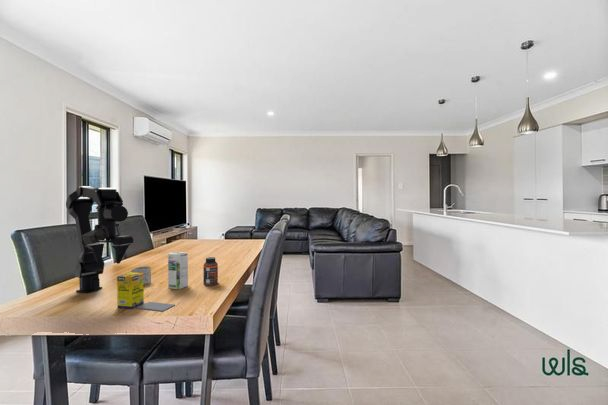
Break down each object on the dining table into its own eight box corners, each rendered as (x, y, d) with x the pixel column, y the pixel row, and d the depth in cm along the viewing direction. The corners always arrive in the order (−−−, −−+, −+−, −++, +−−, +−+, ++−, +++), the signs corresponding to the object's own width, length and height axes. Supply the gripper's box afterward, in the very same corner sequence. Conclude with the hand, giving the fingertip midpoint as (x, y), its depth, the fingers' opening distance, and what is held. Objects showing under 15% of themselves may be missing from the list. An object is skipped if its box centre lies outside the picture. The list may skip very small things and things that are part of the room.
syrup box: (167, 288, 131) (167, 253, 130) (178, 284, 136) (177, 250, 136) (178, 289, 128) (177, 254, 128) (188, 285, 134) (188, 251, 134)
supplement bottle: (210, 286, 133) (209, 259, 132) (200, 284, 136) (200, 258, 135) (220, 283, 138) (220, 257, 137) (211, 281, 141) (211, 256, 141)
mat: (136, 308, 108) (136, 307, 108) (149, 302, 113) (149, 301, 113) (162, 311, 104) (162, 310, 104) (175, 305, 110) (175, 304, 110)
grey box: (154, 282, 141) (154, 267, 140) (141, 285, 135) (140, 270, 134) (138, 279, 145) (138, 265, 145) (125, 283, 139) (124, 268, 138)
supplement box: (132, 309, 107) (131, 276, 107) (116, 308, 108) (116, 276, 108) (144, 303, 113) (143, 272, 112) (129, 302, 114) (129, 272, 114)
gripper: (66, 223, 113) (68, 267, 113) (107, 222, 108) (109, 268, 108) (95, 221, 123) (96, 261, 124) (133, 220, 118) (135, 262, 118)
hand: (108, 263), depth 118 cm, fingers open, 9 cm apart
